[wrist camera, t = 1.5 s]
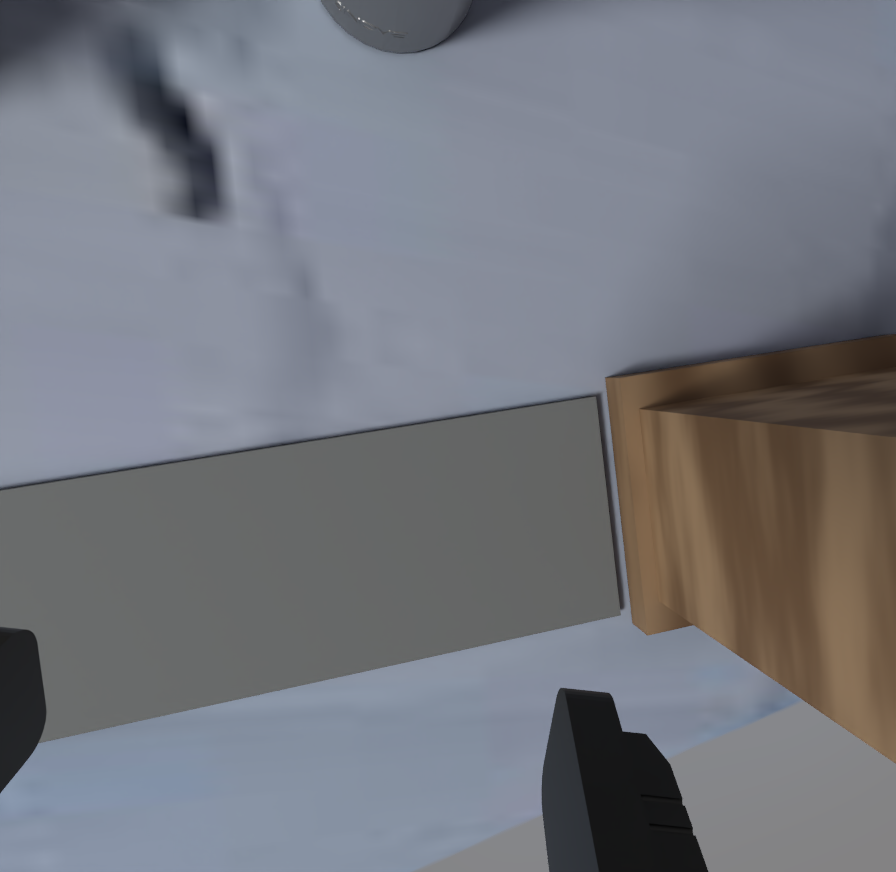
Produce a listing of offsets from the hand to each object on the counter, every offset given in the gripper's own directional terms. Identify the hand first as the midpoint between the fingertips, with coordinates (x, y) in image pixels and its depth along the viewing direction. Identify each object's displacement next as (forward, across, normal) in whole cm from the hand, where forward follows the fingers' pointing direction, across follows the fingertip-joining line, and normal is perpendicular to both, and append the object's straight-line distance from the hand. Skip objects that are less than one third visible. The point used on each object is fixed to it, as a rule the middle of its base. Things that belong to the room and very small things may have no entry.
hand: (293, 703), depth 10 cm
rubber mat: (+24, +8, +13) cm, 29 cm away
